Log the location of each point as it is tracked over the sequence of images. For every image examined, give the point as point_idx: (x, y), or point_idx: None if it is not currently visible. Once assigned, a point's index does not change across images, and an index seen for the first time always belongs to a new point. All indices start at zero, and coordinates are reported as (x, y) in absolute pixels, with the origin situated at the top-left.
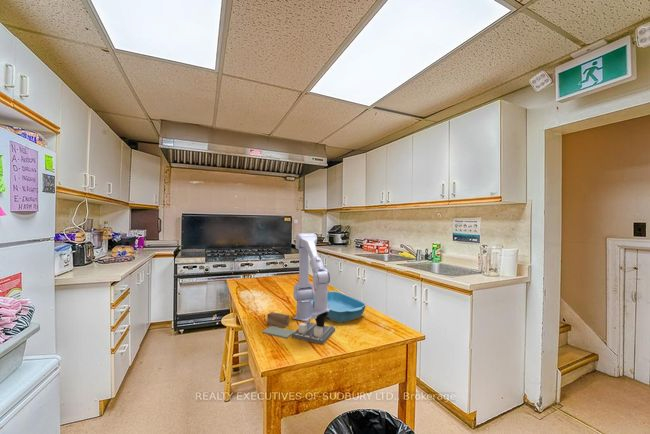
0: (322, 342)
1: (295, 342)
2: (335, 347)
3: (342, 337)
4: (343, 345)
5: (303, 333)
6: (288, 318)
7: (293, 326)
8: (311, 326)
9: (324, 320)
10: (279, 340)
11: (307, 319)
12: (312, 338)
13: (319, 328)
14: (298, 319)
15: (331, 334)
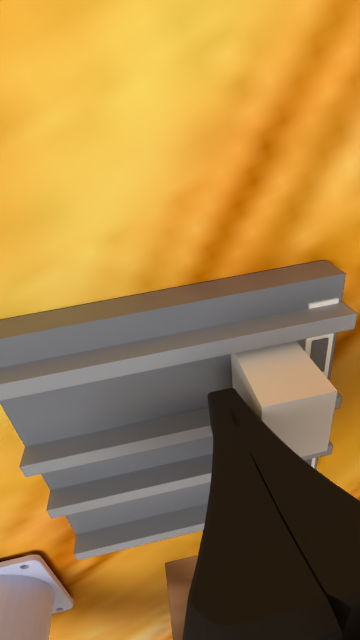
0: (335, 271)
1: (354, 423)
2: (340, 101)
3: (57, 156)
4: (254, 15)
5: (320, 455)
6: (175, 620)
7: (160, 545)
8: (166, 491)
9: (260, 485)
10: (357, 485)
11: (16, 567)
12: (329, 371)
13: (316, 410)
14: (62, 586)
15: (98, 304)
